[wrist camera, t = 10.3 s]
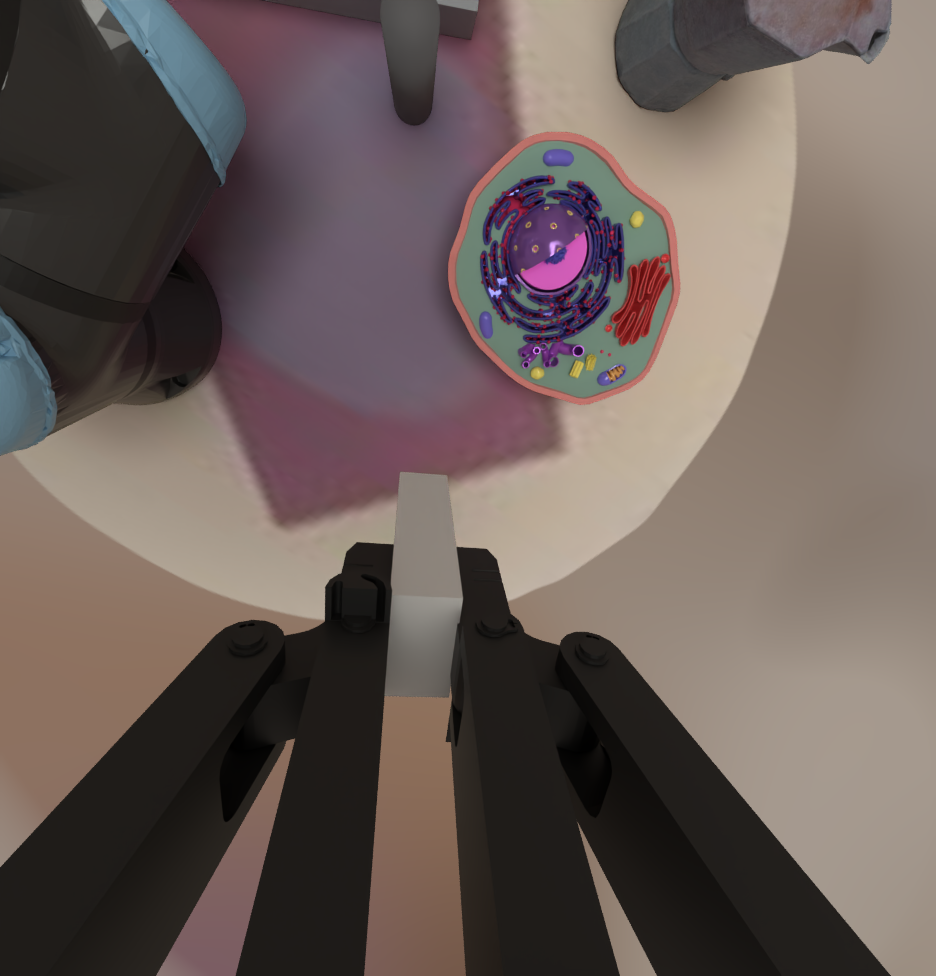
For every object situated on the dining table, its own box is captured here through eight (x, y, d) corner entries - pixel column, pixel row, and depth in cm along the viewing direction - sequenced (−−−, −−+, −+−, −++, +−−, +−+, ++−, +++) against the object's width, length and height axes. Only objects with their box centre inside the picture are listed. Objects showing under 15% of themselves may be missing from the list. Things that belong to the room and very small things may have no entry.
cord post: (392, 121, 41) (378, 48, 26) (395, 75, 40) (381, -29, 25) (430, 128, 41) (437, 58, 27) (434, 82, 40) (443, -17, 26)
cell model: (521, 419, 52) (546, 459, 42) (405, 231, 44) (402, 223, 34) (672, 323, 49) (739, 341, 39) (578, 106, 42) (631, 57, 31)
